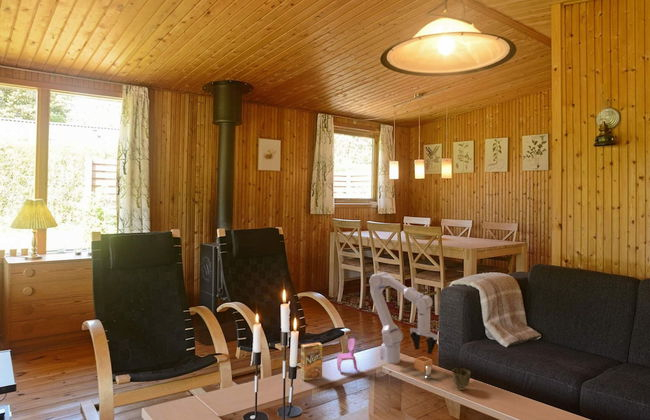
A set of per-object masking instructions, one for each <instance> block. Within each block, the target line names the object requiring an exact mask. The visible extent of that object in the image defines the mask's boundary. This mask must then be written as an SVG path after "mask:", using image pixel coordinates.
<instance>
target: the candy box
mask: <svg viewBox="0 0 650 420" xmlns="http://www.w3.org/2000/svg"><path fill="white" fill-rule="evenodd" d="M300 375H301V376H300V378H301V380H302V381H304V380H306V381H311V379H312V380H318V378H320V379H323V344H322V343H321V342H319V341H318V342H310V343H309V342H308V343H304V344H303V343H302V344H300Z"/></svg>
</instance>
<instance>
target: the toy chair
mask: <svg viewBox="0 0 650 420" xmlns="http://www.w3.org/2000/svg"><path fill="white" fill-rule="evenodd" d="M355 344H356V339H355V338H352V337H351V338H349V339H348V344H347V349H348V351H349V352H346V353H345V352H344V353H337V354H338V355H337V359H336V366H337V370H338V372H339V371H340V372H339V373H340V374H341V373H342V369H341V364H342V362H344V361H347V360H348V361H350V360H352V362H353V368H354V370H355V372H356V373H357V374H359V370H358V366H357V359H356V357H355V347H356V345H355Z"/></svg>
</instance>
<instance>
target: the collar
mask: <svg viewBox="0 0 650 420" xmlns="http://www.w3.org/2000/svg"><path fill="white" fill-rule="evenodd" d="M413 363H414V364H413V365H414V369H417V370H420V371H422V372H426V366H431V369H433V359H431V358H429V357H427V356H422V355H421V356H418V357H417V358H414V361H413Z"/></svg>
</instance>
